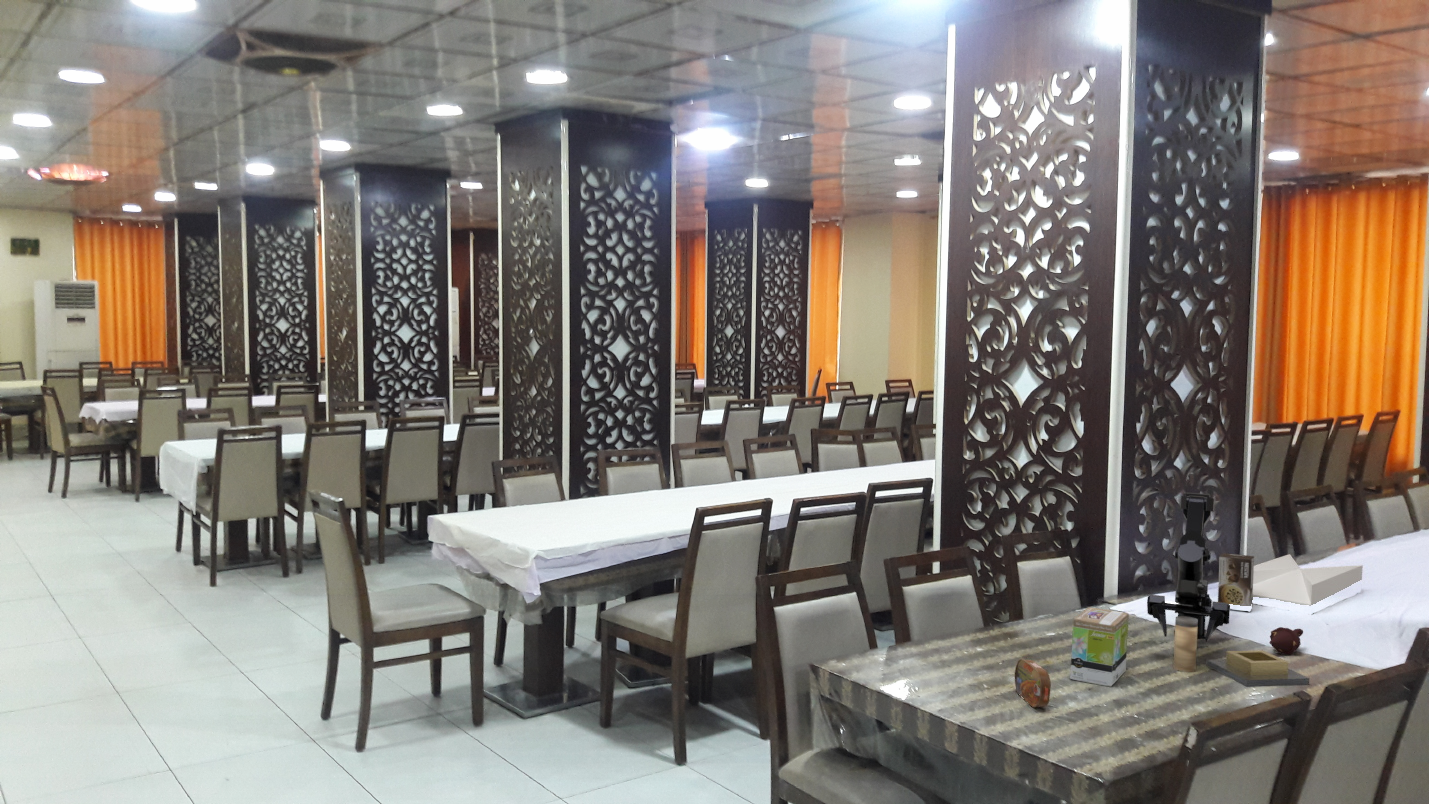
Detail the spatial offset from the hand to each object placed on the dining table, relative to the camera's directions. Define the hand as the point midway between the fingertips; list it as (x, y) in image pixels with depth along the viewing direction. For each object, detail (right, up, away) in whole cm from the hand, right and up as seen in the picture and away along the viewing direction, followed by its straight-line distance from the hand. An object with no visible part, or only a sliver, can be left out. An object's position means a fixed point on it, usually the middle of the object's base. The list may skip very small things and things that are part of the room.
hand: (1185, 638), depth 265 cm
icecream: (+33, -8, +16) cm, 37 cm away
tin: (-45, -9, -25) cm, 52 cm away
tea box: (-23, -8, -6) cm, 25 cm away
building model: (+70, -5, +79) cm, 106 cm away
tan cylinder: (0, -8, +1) cm, 8 cm away
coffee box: (+42, -5, +62) cm, 75 cm away
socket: (+16, -8, -3) cm, 18 cm away
